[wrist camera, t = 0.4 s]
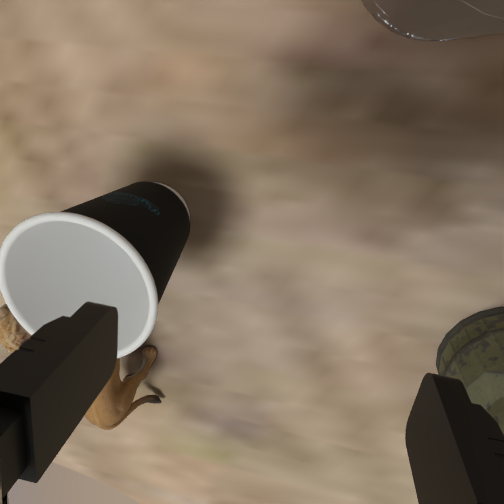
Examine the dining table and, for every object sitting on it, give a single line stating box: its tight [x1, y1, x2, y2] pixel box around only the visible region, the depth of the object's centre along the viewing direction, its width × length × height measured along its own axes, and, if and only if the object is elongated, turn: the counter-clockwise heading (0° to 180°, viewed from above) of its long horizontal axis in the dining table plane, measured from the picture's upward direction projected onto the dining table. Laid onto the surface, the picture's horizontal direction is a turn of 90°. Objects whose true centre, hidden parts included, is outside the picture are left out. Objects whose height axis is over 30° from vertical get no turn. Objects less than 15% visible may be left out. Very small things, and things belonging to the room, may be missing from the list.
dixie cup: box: [0, 182, 190, 358], centre depth 25 cm, size 8×8×11 cm
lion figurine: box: [0, 304, 161, 430], centre depth 31 cm, size 15×5×9 cm, turn 24°
